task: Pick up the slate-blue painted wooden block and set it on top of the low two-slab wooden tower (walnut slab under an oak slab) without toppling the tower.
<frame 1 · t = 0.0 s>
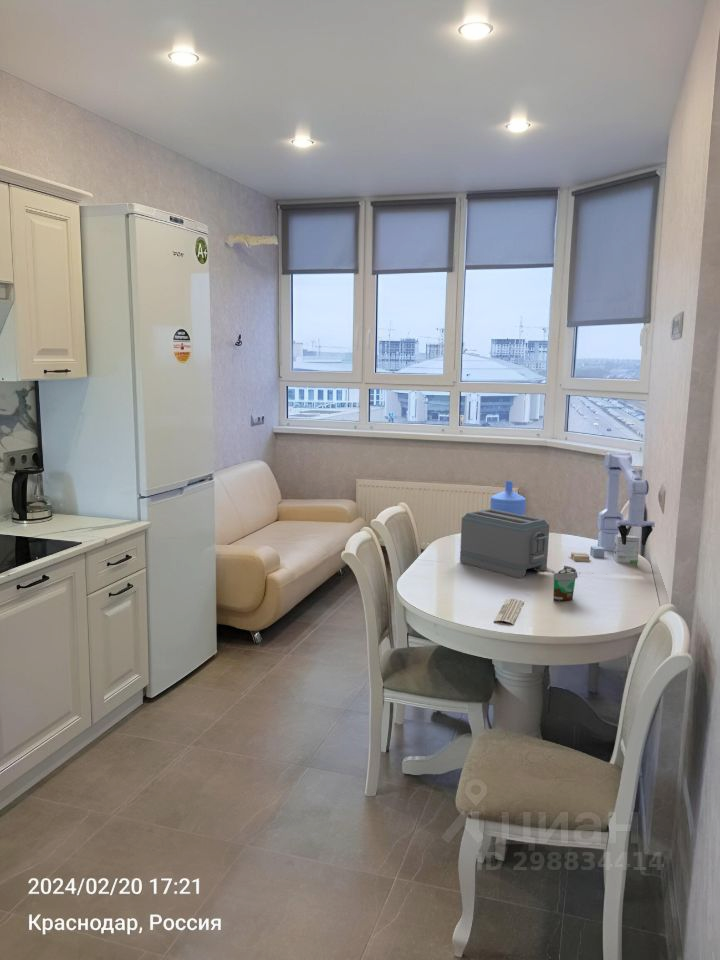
hand: (633, 544, 287), 10 cm above the table, fingers open, 7 cm apart
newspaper: (507, 614, 234), on the table
water jug: (505, 543, 328), on the table
ink box: (625, 565, 295), on the table
tower top: (579, 559, 297), point 1 cm above the table, touching tower base
block: (596, 559, 303), on the table
tower base: (579, 563, 297), on the table, touching tower top
food container: (566, 599, 249), on the table
toaster: (506, 568, 287), on the table
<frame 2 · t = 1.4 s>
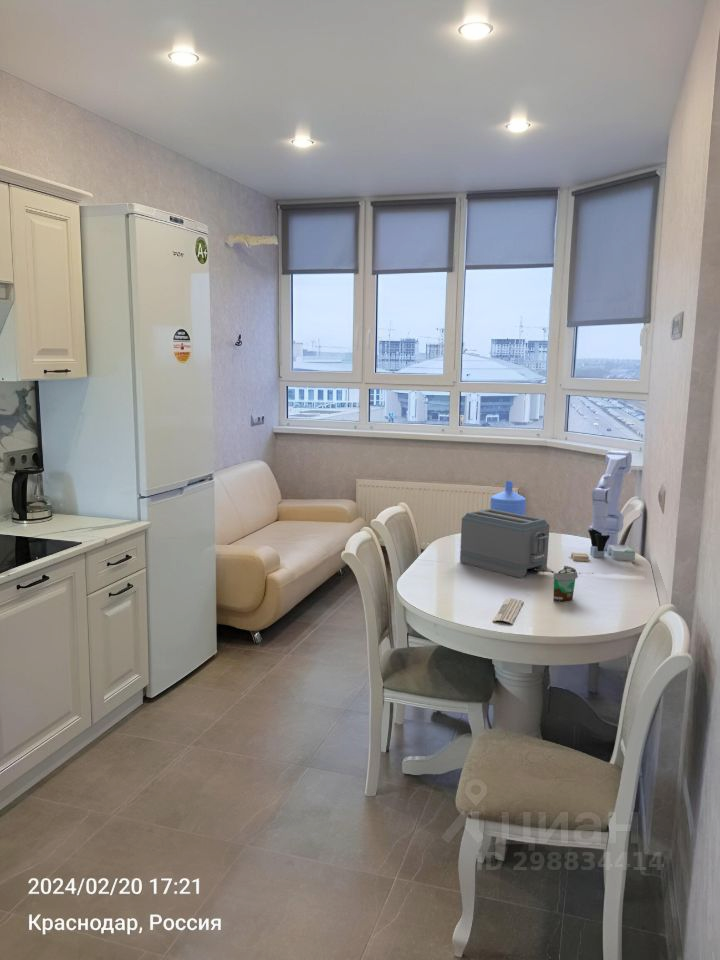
hand: (597, 548, 302), 4 cm above the table, fingers open, 7 cm apart
ink box: (624, 557, 297), point 2 cm above the table
everything else where it was.
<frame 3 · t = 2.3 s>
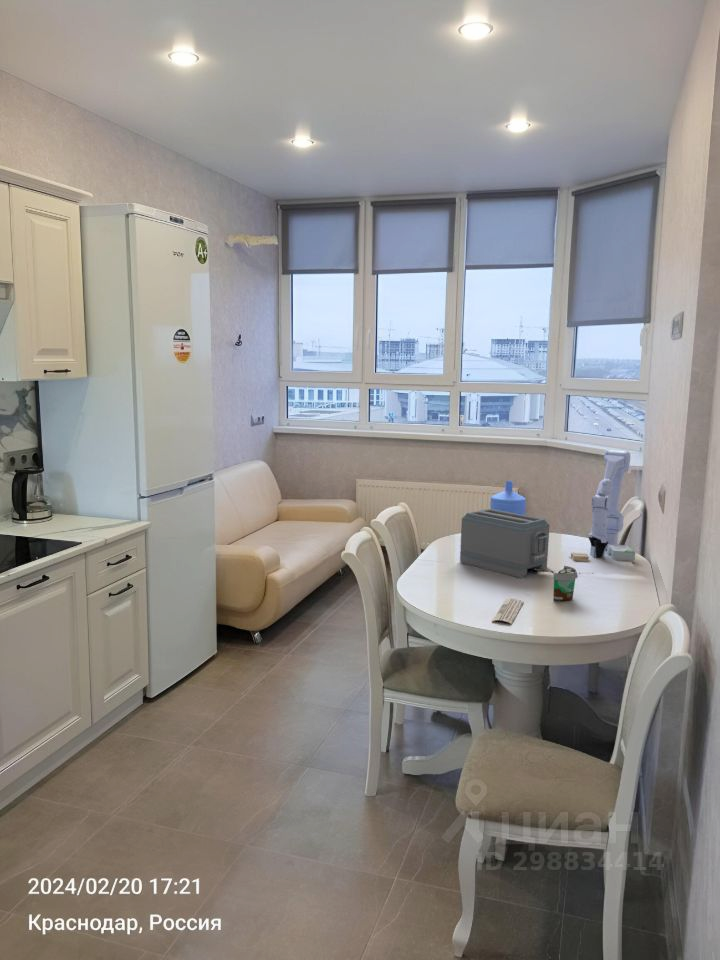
hand: (597, 555, 303), 1 cm above the table, fingers closed on block, 4 cm apart
block: (596, 559, 303), on the table, touching gripper
everything else where it was.
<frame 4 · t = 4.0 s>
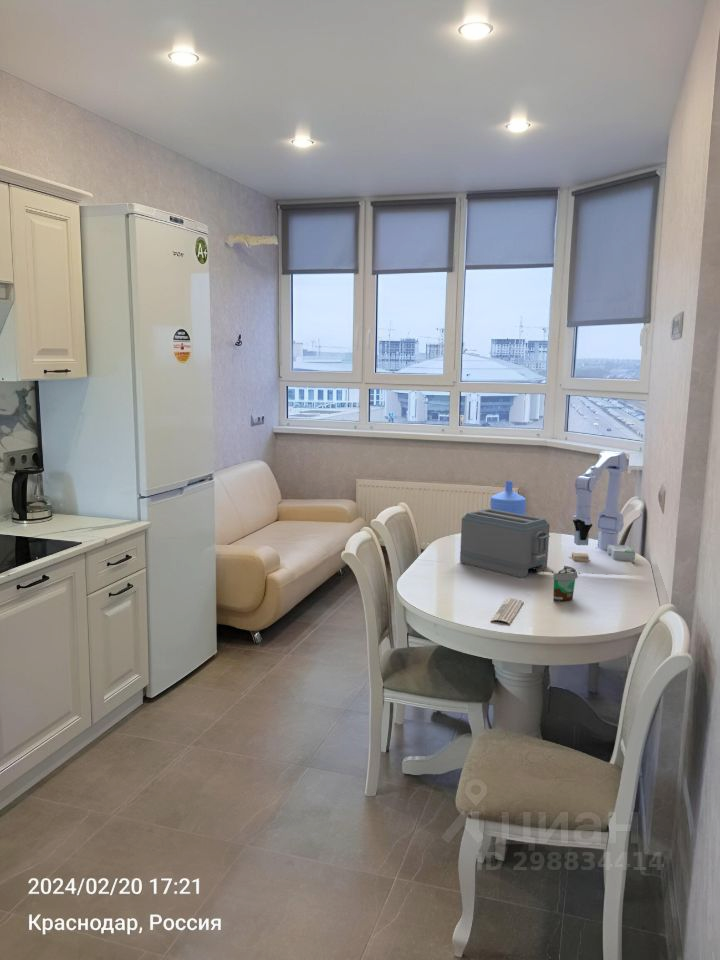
hand: (581, 538, 295), 10 cm above the table, fingers closed on block, 4 cm apart
block: (581, 543, 296), point 8 cm above the table, touching gripper
everything else where it was.
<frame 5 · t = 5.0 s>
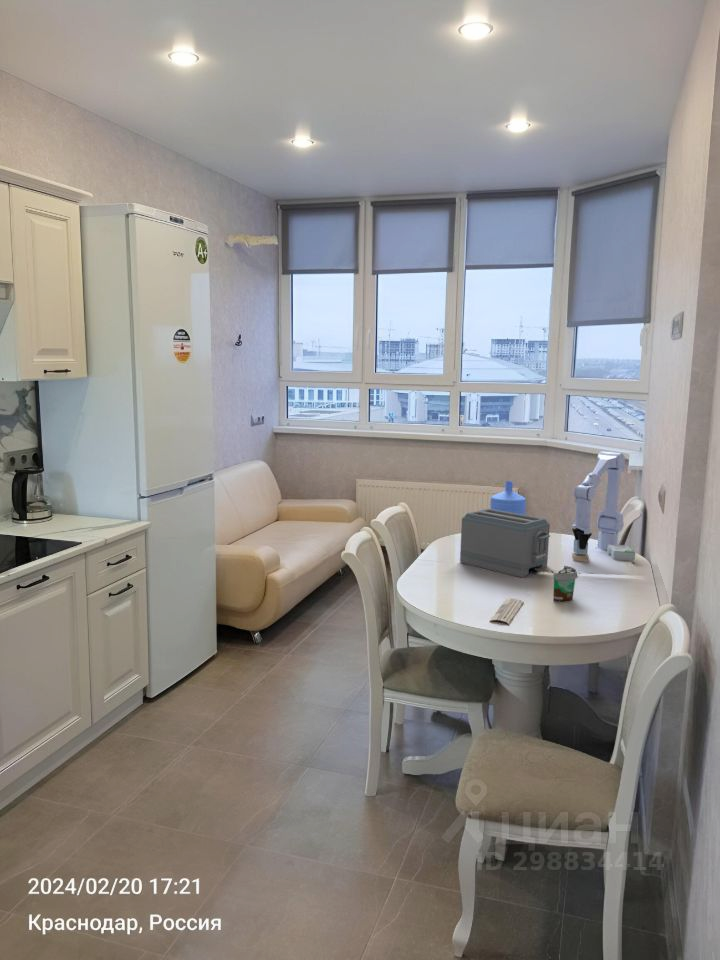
hand: (580, 547, 296), 6 cm above the table, fingers closed on block, 4 cm apart
block: (580, 552, 296), point 4 cm above the table, touching gripper
everything else where it was.
when the fingers open (6 cm above the table, at t = 5.7 s): block stays where it is, resting on tower top.
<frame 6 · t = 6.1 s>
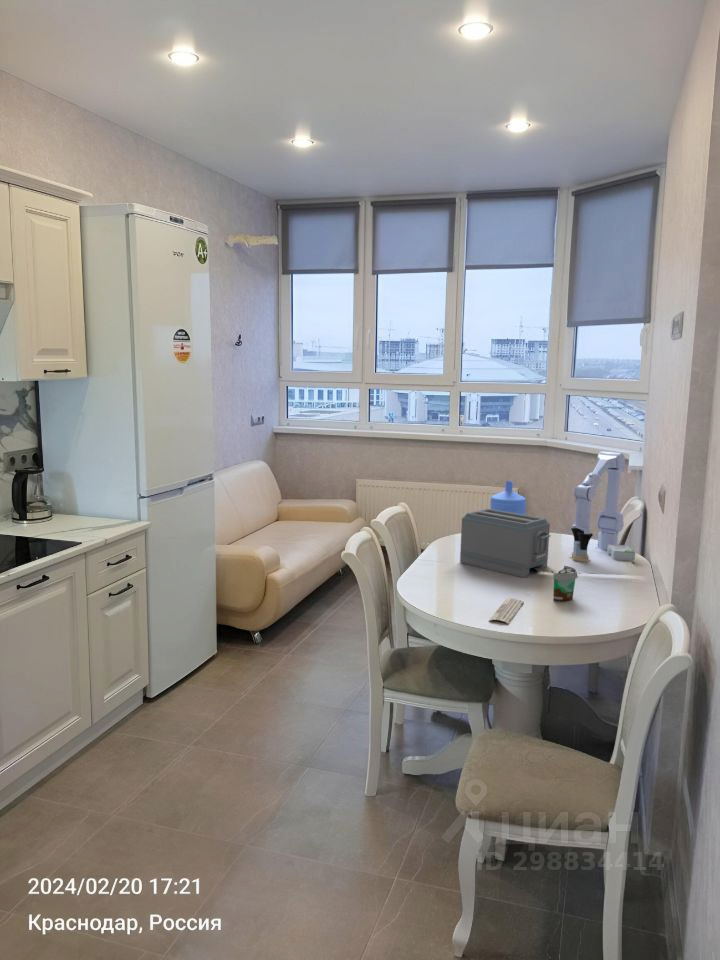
hand: (580, 547, 296), 6 cm above the table, fingers open, 7 cm apart
tower top: (579, 559, 297), point 1 cm above the table, touching block, tower base
block: (579, 554, 296), point 3 cm above the table, touching tower top
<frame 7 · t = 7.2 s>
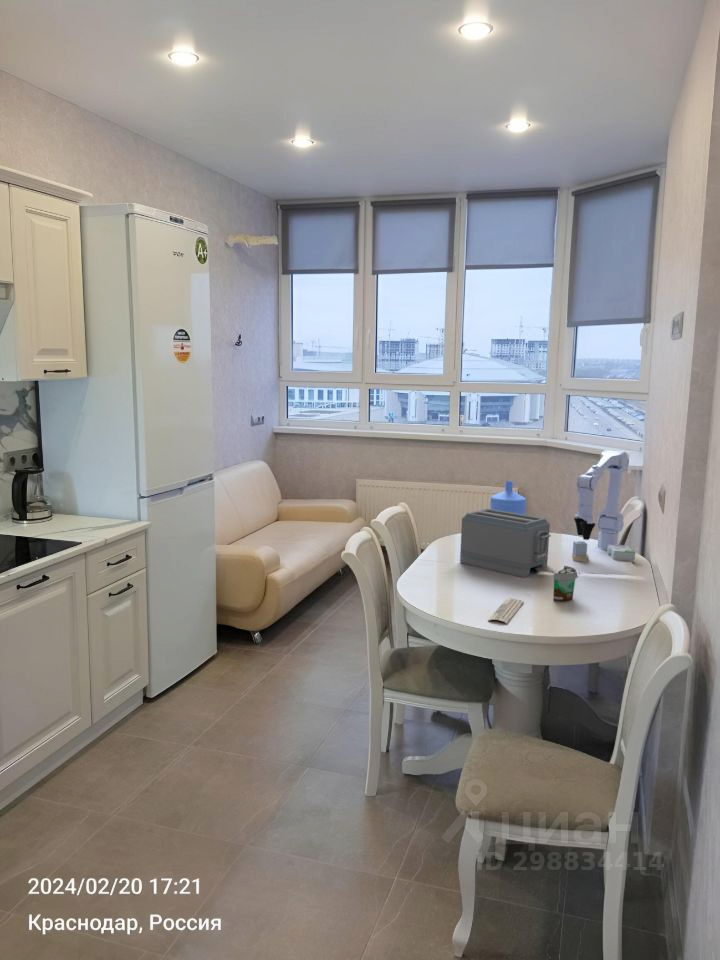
hand: (583, 537, 296), 10 cm above the table, fingers open, 7 cm apart
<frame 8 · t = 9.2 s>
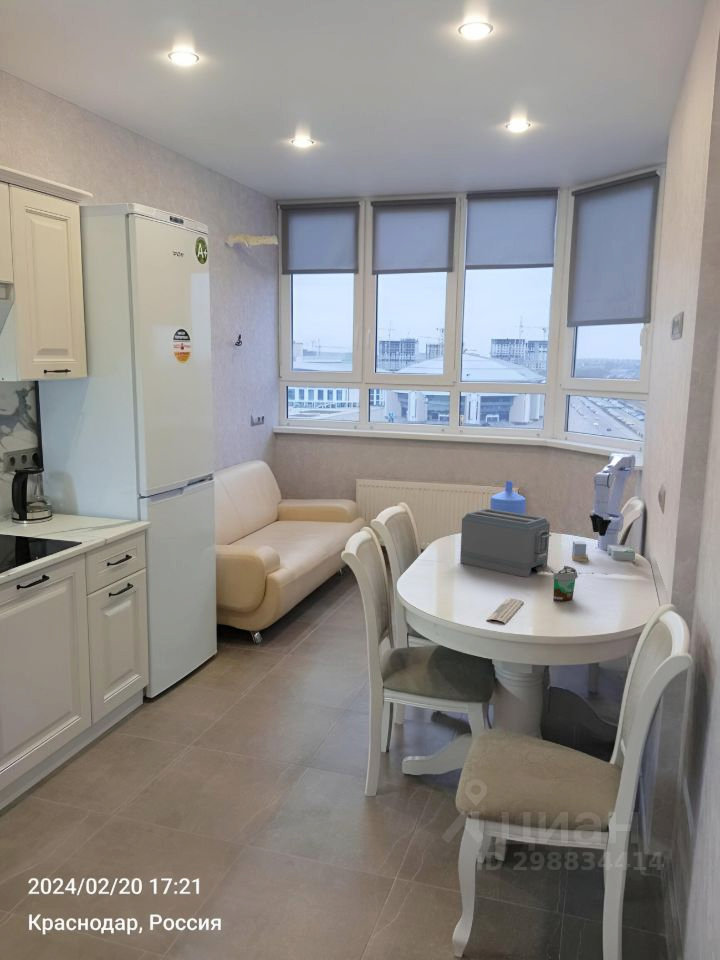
hand: (598, 533, 303), 10 cm above the table, fingers open, 7 cm apart
tower top: (579, 559, 297), point 1 cm above the table, touching tower base
block: (578, 554, 296), point 3 cm above the table
at the end: block 0.5 cm off-centre on the tower top, point 2.0 cm above the tower top's base; block tilted 1°; tower top moved 0.7 cm from its start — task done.
